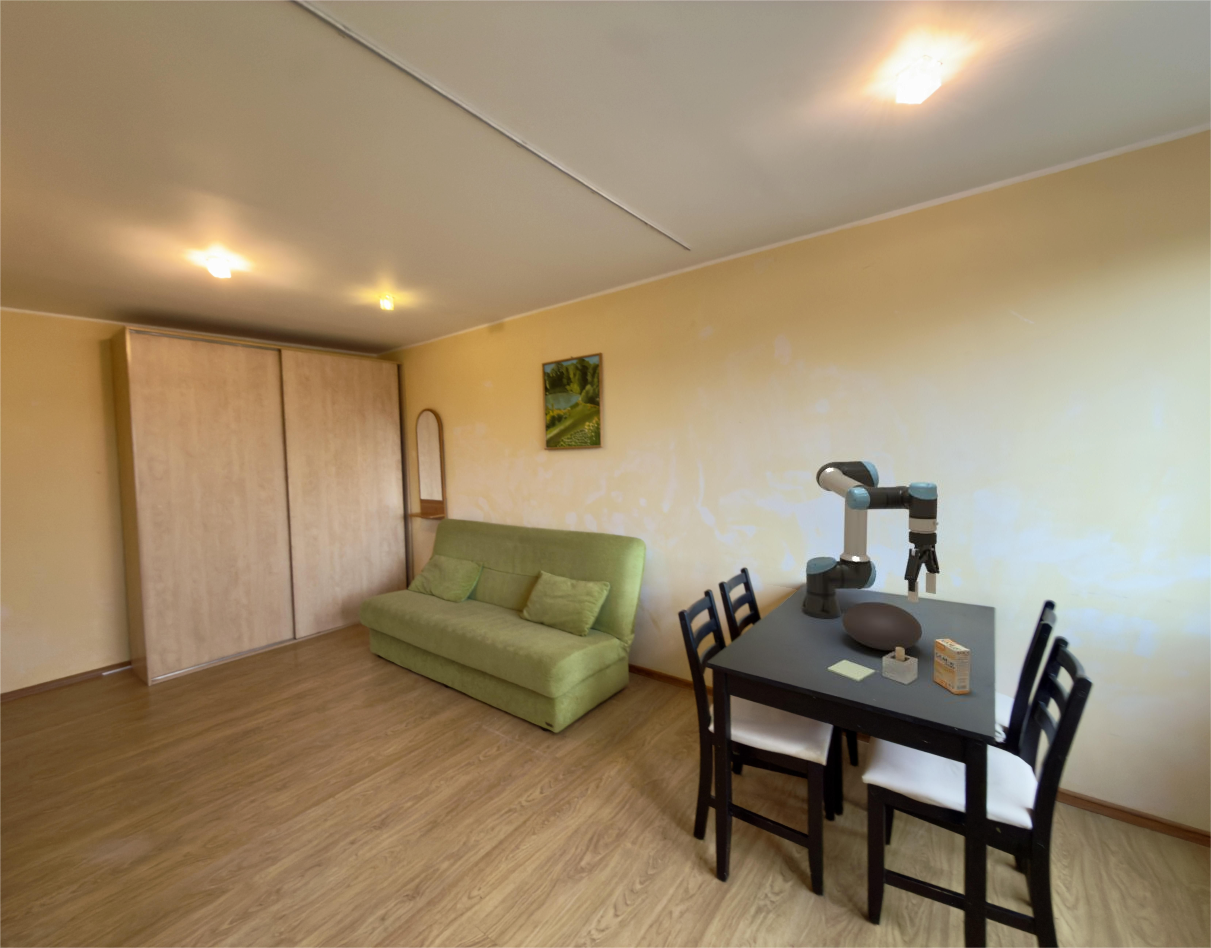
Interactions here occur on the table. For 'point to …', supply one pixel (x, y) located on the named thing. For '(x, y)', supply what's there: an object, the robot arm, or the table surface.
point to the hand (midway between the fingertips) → (922, 597)
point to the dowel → (900, 654)
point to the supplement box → (952, 666)
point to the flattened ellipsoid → (882, 626)
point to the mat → (851, 670)
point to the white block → (900, 668)
